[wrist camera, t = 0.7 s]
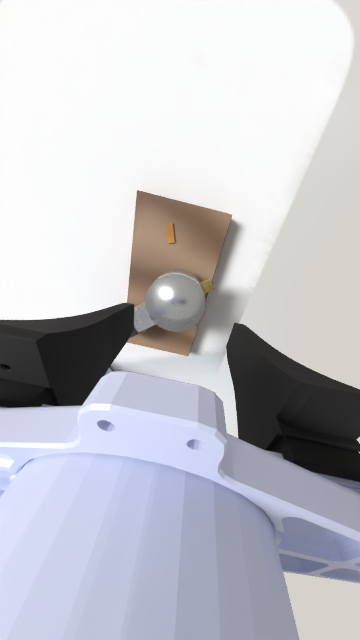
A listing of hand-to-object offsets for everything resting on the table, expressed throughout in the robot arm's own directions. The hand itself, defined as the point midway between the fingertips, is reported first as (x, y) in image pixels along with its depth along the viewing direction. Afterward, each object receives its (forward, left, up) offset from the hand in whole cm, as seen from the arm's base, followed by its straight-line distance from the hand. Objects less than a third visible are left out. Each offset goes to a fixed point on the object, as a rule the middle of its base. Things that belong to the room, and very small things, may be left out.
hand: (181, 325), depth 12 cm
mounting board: (-2, +1, -11) cm, 11 cm away
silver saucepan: (-3, 0, -8) cm, 8 cm away
